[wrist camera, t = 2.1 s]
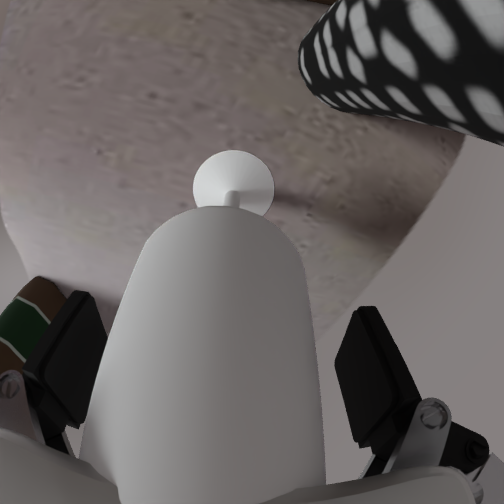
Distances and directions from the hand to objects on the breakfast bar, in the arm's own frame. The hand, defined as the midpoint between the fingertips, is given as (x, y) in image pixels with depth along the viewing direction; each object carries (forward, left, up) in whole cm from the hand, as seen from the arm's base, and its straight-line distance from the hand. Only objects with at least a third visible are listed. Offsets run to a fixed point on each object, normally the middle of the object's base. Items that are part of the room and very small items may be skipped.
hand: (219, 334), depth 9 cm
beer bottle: (+13, -24, -15) cm, 32 cm away
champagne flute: (-1, 0, -15) cm, 15 cm away
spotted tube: (-12, +8, -15) cm, 21 cm away
